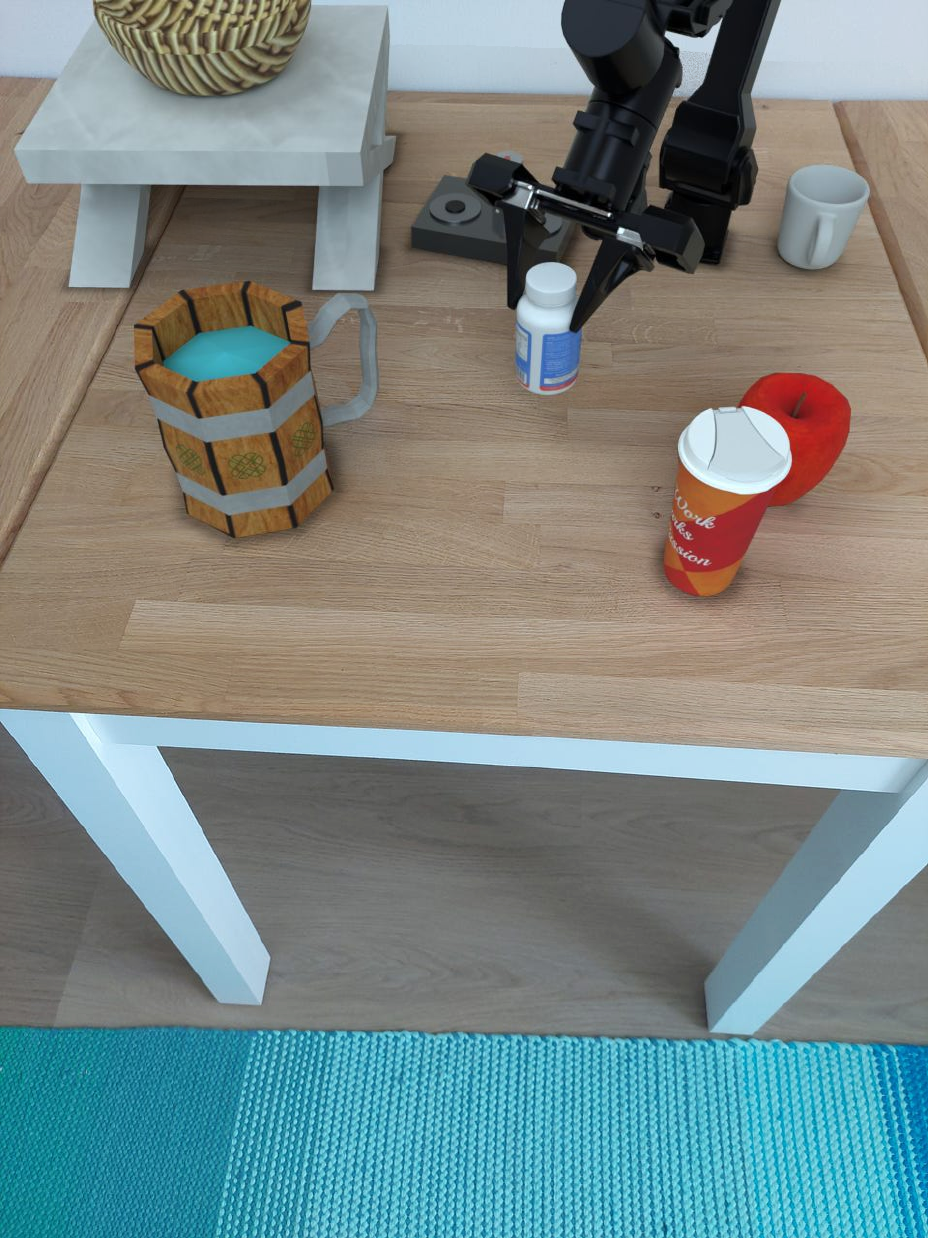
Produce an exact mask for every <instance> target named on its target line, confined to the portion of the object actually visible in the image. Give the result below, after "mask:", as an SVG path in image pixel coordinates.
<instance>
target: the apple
mask: <svg viewBox="0 0 928 1238" xmlns="http://www.w3.org/2000/svg"><path fill="white" fill-rule="evenodd" d="M742 406H745V407H750V408H753V409H756V410H759V411H761V412H764V413H765V414H767V415H769V416H771V417H772V418H773V419H775V420H776V421H777V422H778V423H779V424H780V425H781V426H782V427H783V429H784V430H785V432H786V434H787V436H788V439H789V444H790V451H791V456H792V463H791V467H790V470H789V472H788V474H787V475H786V477H785V478H784V479H783V480H782V481H781V482H780V483H778V485H777V487H776V489H775V491H774V494H773V496H772V498H771V500H770V502H769V504H768V507H769V508H771V507H778V506H779V507H780V506H781V507H782V506H786V505H788V504H790V503H794V502H795V501H797V500H798V499H800V498H802V497H803V496H805V495H806V494H807V493H809V492H810V491H812V490H813V489H814V488H816V487H817V486H818V485H819V484H820V483H821V482H822V481H823V480H824V479H825V477H826V476H828V474H829V473H830V471H831V470H832V469H833V467H834V466H835V464H836V462H837V461H838V459H839V457H840V456H841V454H842V453H843V450H844V449H845V446H846V445H847V440H848V438H849V434H850V432H851V431H850V430H851V418H852V417H851V416H852V408H851V405H850V402H849V399H848V398H847V397H846V396H845V395H844V394H843V393H842V392H841V391H840V390H839V389H837V387H836V386H835V385H834V384H832V383H830V382H829V381H827V380H825V379H823V378H821V377H819V376H817V375H814V374H810V373H809V374H808V373H802V372H773V373H770V374H767V375H764V376H763V375H762V376H760V377H759V378H758V379H757V380H756V381H755V382H754V383H753V384H752V385H750V387H749V388H748V389H747V391H746V392H745V393H744V395H743V396H742V398H741V399H740V401H739V404H738V407H737V408H740V409H741V407H742Z"/></svg>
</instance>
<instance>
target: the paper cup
mask: <svg viewBox="0 0 928 1238" xmlns="http://www.w3.org/2000/svg"><path fill="white" fill-rule="evenodd" d="M678 439H679V440H678V443H677V452H678V456H679V464H678V470H677V476H676V481H675V487H674V493H673V499H672V505H671V512H670V516H669V523H668V529H667V535H666V542H665V548H664V554H663V555H664V556H663V571H664V574H665V576H666V578H667V580H668V581H669V582H670V584H672V585H673V586H674V587H675V588H677V589H678V590H680V591H681V592H683V593H686V594H688V595H691V596H698V597H711V596H714V595H717V594H720V593H721V592H724V591H725V590H726V589H727V588H728V587H729V586H730V584H731V583H732V582H733V580H734V578H735V576H736V574H737V572H738V570H739V568H740V566H741V564H742V562H743V560H744V558H745V556H746V554H747V551H748V549H749V547H750V545H751V543H752V541H753V539H754V536H755V534H756V533H757V531H758V528H759V526H760V524H761V522H762V519H763V517H764V515H765V513H766V511H767V509H768V507H769V506H768V504H769V502H770V500H771V498H772V496H773V494H774V491H775V489H776V487H777V485H778V483H780V482H781V481H782V480H783V479H784V478H785V477H786V475H787V474H788V472H789V470H790V467H791V463H792V456H791V451H790V444H789V439H788V436H787V434H786V432H785V430H784V429H783V427H782V426H781V425H780V424H779V423H778V422H777V421H776V420H775V419H773V418H772V417H771V416H769V415H767V414H765V413H764V412H761V411H759V410H756V409H753V408H750V407H745V406H742V407H741V409H740V408H738V407H736V406H723V407H718V409H713V408H712V407H711V408H708V409H706V410H704V411H702V412H700V413H699V414H698V415H697V416H695V417H694V418H693V420H692V421H691V422H690V423H689V425H688V426H686V427H685V428H684V430H683V431H682V433H681V435H680V436H679V438H678Z"/></svg>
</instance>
